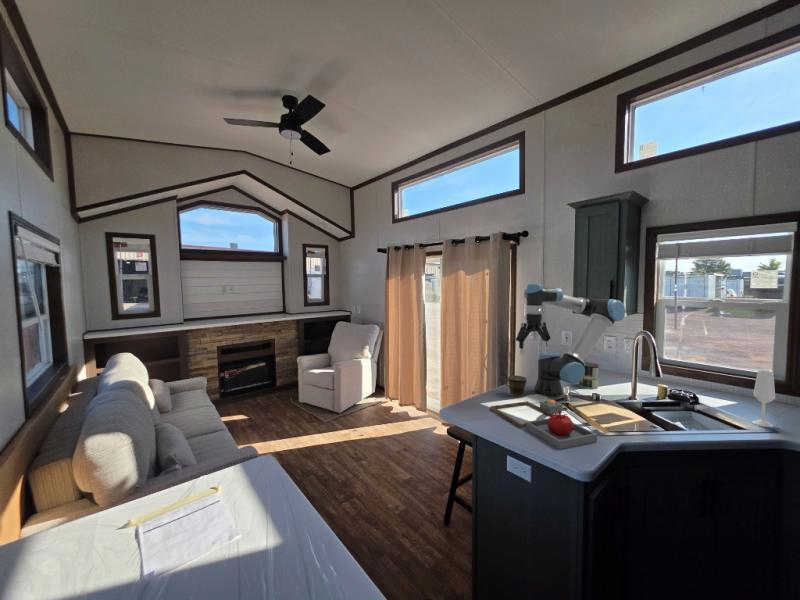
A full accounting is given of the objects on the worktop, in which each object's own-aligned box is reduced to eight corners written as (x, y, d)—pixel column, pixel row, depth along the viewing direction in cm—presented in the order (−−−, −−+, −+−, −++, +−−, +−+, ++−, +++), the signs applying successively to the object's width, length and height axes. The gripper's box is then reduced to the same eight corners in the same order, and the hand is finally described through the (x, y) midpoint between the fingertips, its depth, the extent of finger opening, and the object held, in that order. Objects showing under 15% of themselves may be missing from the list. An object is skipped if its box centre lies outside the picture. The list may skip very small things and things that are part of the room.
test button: (550, 406, 166) (551, 398, 166) (557, 409, 162) (557, 401, 162) (544, 407, 165) (544, 399, 165) (550, 410, 161) (550, 402, 161)
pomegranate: (578, 437, 134) (579, 415, 133) (556, 439, 132) (557, 416, 131) (562, 426, 144) (563, 405, 143) (541, 427, 142) (542, 406, 141)
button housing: (550, 407, 168) (551, 400, 168) (561, 412, 162) (561, 404, 161) (539, 409, 166) (540, 401, 166) (550, 414, 159) (550, 406, 159)
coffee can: (583, 388, 199) (583, 365, 198) (576, 383, 209) (576, 361, 208) (601, 389, 197) (602, 366, 197) (593, 384, 208) (594, 362, 207)
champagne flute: (775, 428, 145) (778, 374, 144) (752, 424, 149) (755, 371, 148) (772, 423, 150) (775, 371, 149) (750, 419, 154) (753, 369, 153)
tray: (559, 422, 150) (560, 416, 150) (596, 441, 132) (597, 434, 132) (525, 428, 144) (525, 421, 144) (559, 449, 126) (559, 441, 126)
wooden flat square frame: (527, 404, 173) (527, 401, 173) (561, 421, 151) (561, 418, 151) (489, 409, 166) (490, 406, 166) (520, 428, 144) (520, 424, 144)
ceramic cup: (518, 391, 193) (518, 374, 193) (530, 397, 184) (530, 379, 184) (499, 393, 189) (499, 376, 189) (510, 399, 180) (510, 381, 179)
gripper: (518, 314, 164) (518, 356, 165) (558, 313, 172) (557, 353, 173) (509, 313, 171) (508, 353, 172) (547, 312, 179) (546, 350, 180)
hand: (533, 353), depth 172 cm, fingers open, 13 cm apart
